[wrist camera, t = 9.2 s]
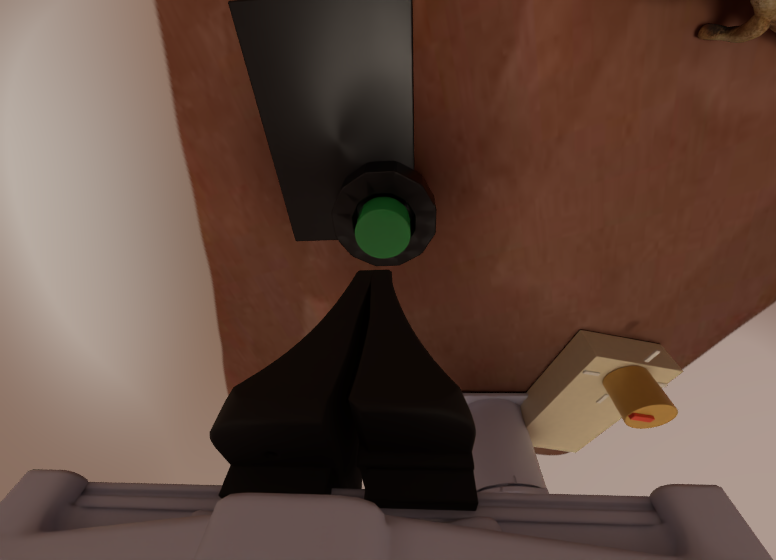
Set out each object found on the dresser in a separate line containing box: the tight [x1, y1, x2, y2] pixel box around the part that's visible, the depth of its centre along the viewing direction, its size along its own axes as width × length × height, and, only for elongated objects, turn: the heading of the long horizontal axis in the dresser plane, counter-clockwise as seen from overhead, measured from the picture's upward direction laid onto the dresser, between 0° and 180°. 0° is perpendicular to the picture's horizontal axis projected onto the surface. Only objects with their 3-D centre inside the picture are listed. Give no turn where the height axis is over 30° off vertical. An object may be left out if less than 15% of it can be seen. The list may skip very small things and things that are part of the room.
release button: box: [355, 197, 411, 258], centre depth 17 cm, size 3×3×2 cm
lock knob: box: [603, 366, 678, 429], centre depth 25 cm, size 4×4×4 cm
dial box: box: [520, 330, 683, 452], centre depth 31 cm, size 18×8×3 cm, turn 169°
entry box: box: [228, 0, 436, 266], centre depth 17 cm, size 13×9×4 cm
